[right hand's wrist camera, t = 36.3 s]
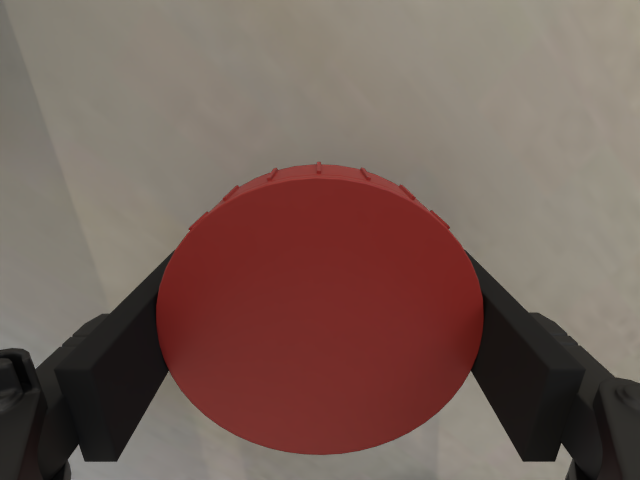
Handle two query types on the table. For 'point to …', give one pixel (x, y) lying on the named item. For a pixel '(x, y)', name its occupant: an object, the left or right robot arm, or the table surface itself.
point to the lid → (319, 311)
